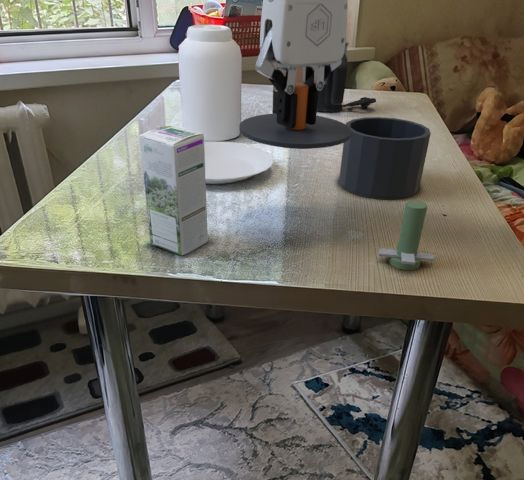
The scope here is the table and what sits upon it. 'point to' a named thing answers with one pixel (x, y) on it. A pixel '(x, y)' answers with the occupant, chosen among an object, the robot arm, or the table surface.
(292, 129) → the lid
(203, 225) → the syrup box
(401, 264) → the green peg on stand
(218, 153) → the plate
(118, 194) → the table surface
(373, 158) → the bowl
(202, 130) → the white jar
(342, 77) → the milk frother
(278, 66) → the robot arm
